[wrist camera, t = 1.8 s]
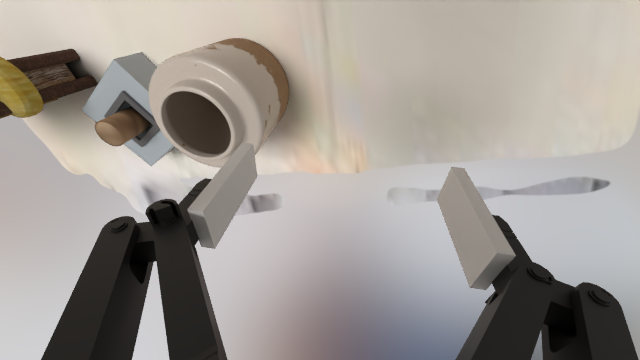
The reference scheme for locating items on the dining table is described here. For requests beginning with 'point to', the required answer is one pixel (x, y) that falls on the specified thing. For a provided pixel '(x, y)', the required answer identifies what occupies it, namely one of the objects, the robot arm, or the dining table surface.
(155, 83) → the vase
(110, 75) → the socket block
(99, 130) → the dowel
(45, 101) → the book
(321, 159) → the dining table surface
